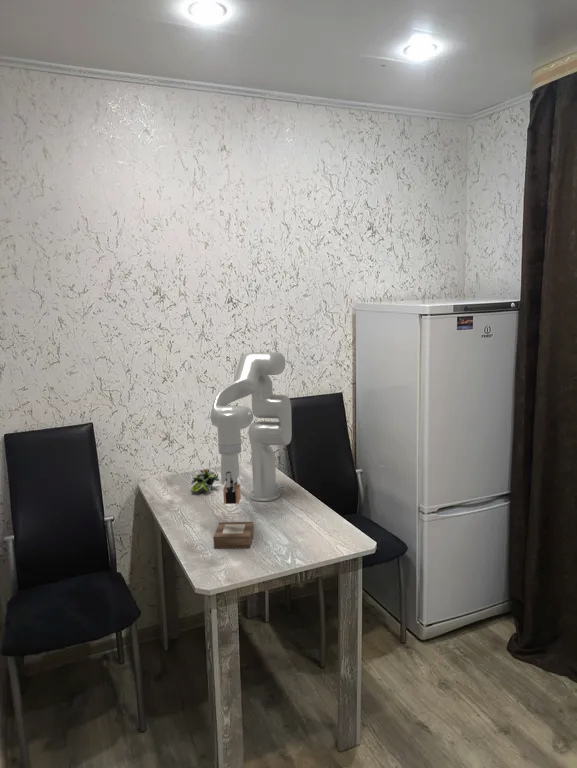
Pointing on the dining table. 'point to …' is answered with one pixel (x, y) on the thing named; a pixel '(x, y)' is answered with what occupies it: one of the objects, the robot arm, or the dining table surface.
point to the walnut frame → (233, 535)
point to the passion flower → (204, 480)
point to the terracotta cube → (237, 490)
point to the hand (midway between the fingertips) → (232, 499)
